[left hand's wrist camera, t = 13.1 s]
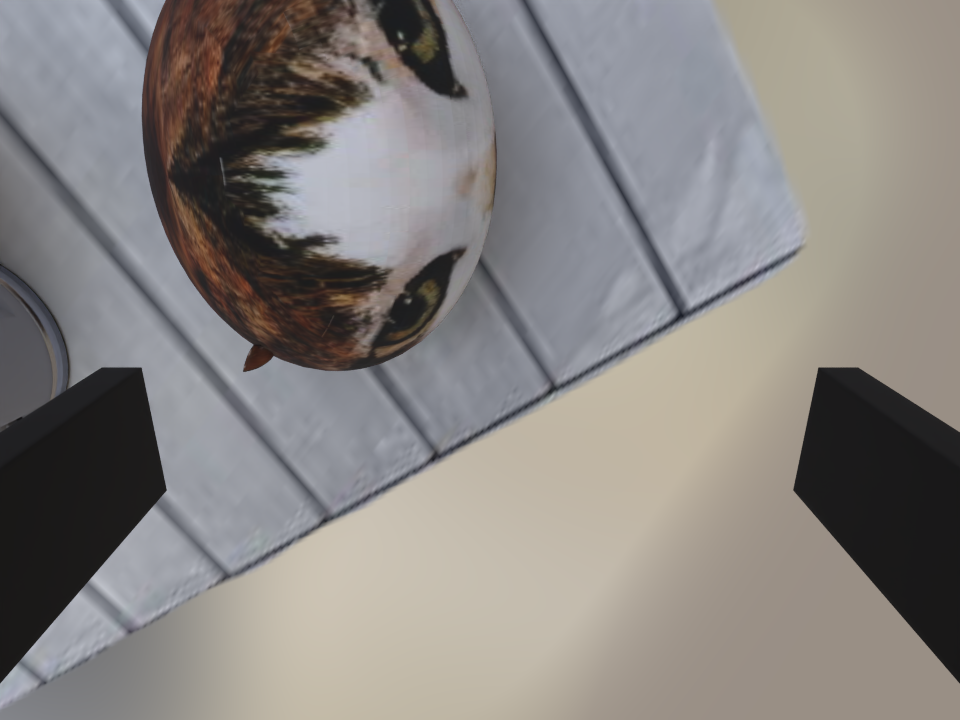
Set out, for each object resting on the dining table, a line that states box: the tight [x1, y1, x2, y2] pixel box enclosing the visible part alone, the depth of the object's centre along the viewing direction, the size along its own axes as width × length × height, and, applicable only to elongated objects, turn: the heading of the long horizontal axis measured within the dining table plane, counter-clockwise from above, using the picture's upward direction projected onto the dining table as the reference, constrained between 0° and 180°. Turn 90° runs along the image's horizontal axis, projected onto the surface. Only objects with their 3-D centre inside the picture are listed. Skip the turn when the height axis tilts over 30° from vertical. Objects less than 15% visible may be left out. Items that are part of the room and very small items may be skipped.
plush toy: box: [142, 0, 497, 372], centre depth 34 cm, size 22×18×20 cm
